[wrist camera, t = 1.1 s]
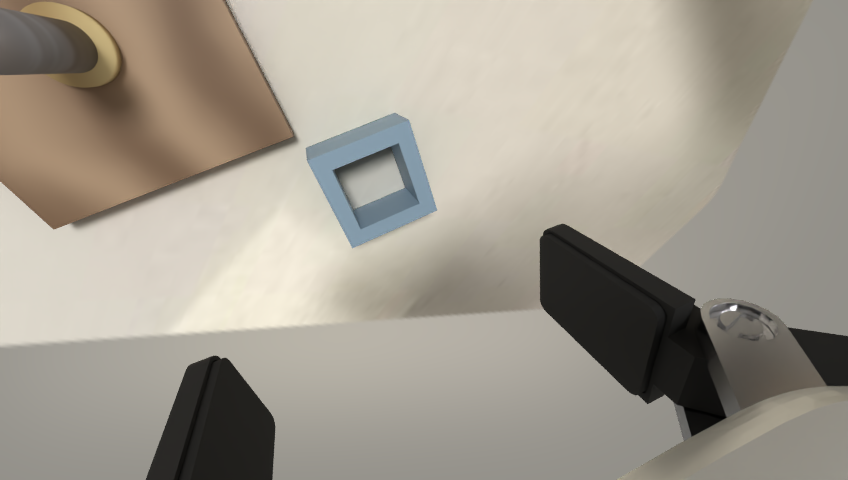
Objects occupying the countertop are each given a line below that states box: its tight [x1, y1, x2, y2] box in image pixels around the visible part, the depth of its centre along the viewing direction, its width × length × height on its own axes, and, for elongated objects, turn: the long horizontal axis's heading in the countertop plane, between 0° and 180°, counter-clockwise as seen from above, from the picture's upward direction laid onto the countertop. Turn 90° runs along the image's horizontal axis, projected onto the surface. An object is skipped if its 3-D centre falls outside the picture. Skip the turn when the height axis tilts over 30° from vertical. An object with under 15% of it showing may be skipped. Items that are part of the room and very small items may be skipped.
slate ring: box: [306, 113, 437, 248], centre depth 25 cm, size 7×7×4 cm
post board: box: [0, 0, 294, 229], centre depth 15 cm, size 16×16×8 cm
